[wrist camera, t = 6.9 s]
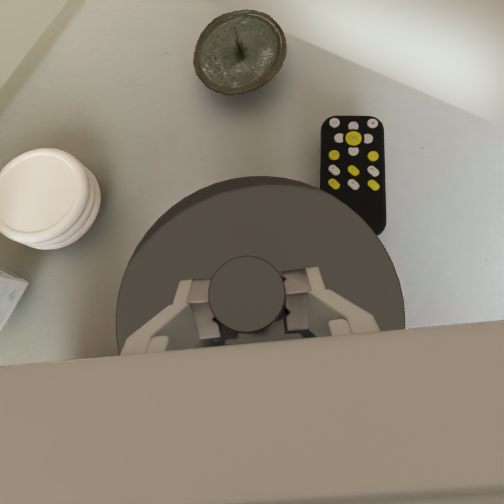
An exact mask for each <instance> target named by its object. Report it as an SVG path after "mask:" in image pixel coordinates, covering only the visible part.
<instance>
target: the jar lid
mask: <svg viewBox="0 0 504 504" xmlns="http://www.w3.org/2000/svg"><path fill="white" fill-rule="evenodd" d="M310 267H319V270H320V273H321V276H322V279H323V282H324V285H325V288H326V289H330V290H332V291H333V292H335V293H337V294H338V295H340V296H342V297H343V298H345V299H347V300H348V301H350V302H352V303H353V304H355V305H357V306H358V307H360V308H362V309H363V310H365V311H367V312H368V313H370V314H372V315H373V316H374V319H375V321H376V323H377V325H378V327H379V329H380V331H389V330H400V329H405V311H404V300H403V295H402V291H401V286H400V282H399V279H398V276H397V273H396V271H395V268H394V265H393V263H392V261H391V259H390V257H389V255H388V253H387V251H386V249H385V247H384V245H383V244H382V243H381V241H380V240H379V238H378V237H377V235H376V234H375V233H374V231H373V230H372V229H371V228H370V227H369V225H368V224H367V223H366V222H365V221H364V220H363V219H362V218H361V217H360V216H359V215H358V214H357V213H356V212H354V211H353V210H352V209H351V208H350V207H349V206H348V205H346V204H345V203H343V202H342V201H340V200H339V199H337V198H336V197H334V196H333V195H331V194H329V193H327V192H325V191H323V190H321V189H319V188H317V187H314V186H311V185H308V184H305V183H303V182H300V181H295V180H291V179H286V178H280V177H270V176H249V177H242V178H235V179H230V180H226V181H222V182H219V183H215V184H213V185H210V186H208V187H205V188H203V189H200V190H198V191H196V192H195V193H193V194H191V195H189V196H187V197H185V198H184V199H182V200H181V201H180V202H178V203H177V204H175V205H174V206H173V207H171V208H170V209H169V210H168V211H167V212H166V213H164V214H163V215H162V216H161V217H160V218H159V219H158V220H157V221H156V222H155V223H154V225H153V226H152V227H151V228H150V229H149V230H148V231H147V233H146V234H145V236H144V237H143V238H142V240H141V241H140V243H139V244H138V246H137V247H136V249H135V251H134V253H133V255H132V257H131V259H130V261H129V263H128V266H127V268H126V271H125V274H124V276H123V279H122V283H121V287H120V291H119V295H118V302H117V311H116V337H117V344H118V351H119V355H120V353H121V351H122V349H123V346H124V344H125V342H126V339H127V338H128V337H129V336H130V335H132V334H133V333H134V332H136V331H137V330H138V329H139V328H141V327H142V326H143V325H144V324H146V323H147V322H148V321H149V320H151V319H152V318H153V317H155V316H156V315H157V314H158V313H160V312H161V311H162V310H163V309H165V308H166V307H167V306H168V305H173V301H174V298H175V295H176V291H177V288H178V285H179V282H180V281H182V280H193V279H205V278H212V279H211V281H210V284H209V288H208V302H209V306H210V309H211V311H212V313H213V315H214V317H215V318H216V320H217V321H218V322H219V323H220V324H222V328H221V337H215V338H207V339H199V340H200V341H199V342H198V343H197V344H196V346H195V347H194V348H204V347H215V346H226V345H237V344H248V343H259V342H269V341H280V340H291V339H302V338H313V337H316V336H315V335H314V334H313V333H312V332H311V331H310V330H309V329H304V330H289V331H288V329H287V323H286V314H285V308H284V305H285V297H286V290H285V285H284V281H283V279H282V276H281V271H288V270H296V269H304V268H310Z"/></svg>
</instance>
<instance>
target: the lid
mask: <svg viewBox="0 0 504 504" xmlns="http://www.w3.org/2000/svg"><path fill="white" fill-rule="evenodd" d="M286 49H287V47H286V39H285V36H284V33H283V31H282V29H281V28H280V26H279V25H278V24H277V23H276V21H274V20H273V19H272V18H271V17H270V16H269V15H267V14H265V13H262V12H257V11H254V10H241V11H234V12H231V13H227V14H223V15H221V16H219V17H217V18H215V19H214V20H213V21H212V22H211V23H210V24H208V25H207V27H206V28H205V29H204V30H203V32H202V33H201V35H200V37H199V40H198V41H197V44H196V47H195V52H194V60H193V64H194V67H195V71H196V74H197V76H198V77H199V79H200V80H201V81H202V82H203V83H204V84H205V85H206V86H207V87H208V88H209V89H211V90H213V91H216V92H218V93H221V94H224V95H234V94H243V93H247V92H250V91H253V90H255V89H257V88H259V87H261V86H263V85H264V84H266V83H267V82H268V81H269V80H271V79H272V78H273V77H274V76H275V75H276V74H277V73H278V71H279V70H280V68H281V67H282V65H283V61H284V60H285V57H286V51H287V50H286Z"/></svg>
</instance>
